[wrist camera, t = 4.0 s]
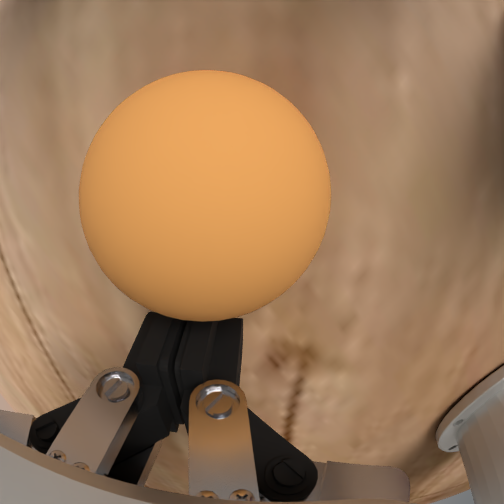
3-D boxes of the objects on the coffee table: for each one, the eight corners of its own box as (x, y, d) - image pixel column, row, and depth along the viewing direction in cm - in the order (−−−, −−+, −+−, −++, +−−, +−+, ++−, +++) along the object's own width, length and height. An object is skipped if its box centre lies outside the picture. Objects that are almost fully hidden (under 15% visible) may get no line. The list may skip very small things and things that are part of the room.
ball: (314, 182, 11) (342, 34, 6) (304, 350, 9) (375, 288, 3) (158, 171, 12) (107, 40, 6) (114, 322, 9) (-19, 240, 4)
